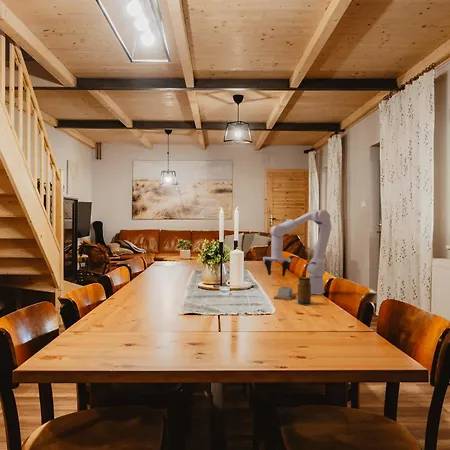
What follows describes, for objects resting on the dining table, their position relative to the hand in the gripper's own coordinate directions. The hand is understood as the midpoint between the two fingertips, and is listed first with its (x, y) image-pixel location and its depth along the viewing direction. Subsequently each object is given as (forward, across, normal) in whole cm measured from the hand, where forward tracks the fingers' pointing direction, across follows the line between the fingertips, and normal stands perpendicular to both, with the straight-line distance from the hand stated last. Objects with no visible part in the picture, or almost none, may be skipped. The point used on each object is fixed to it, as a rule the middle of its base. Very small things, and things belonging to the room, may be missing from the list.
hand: (276, 275), depth 233 cm
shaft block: (+10, +7, -7) cm, 14 cm away
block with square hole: (+9, +7, -7) cm, 13 cm away
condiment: (+10, +20, -16) cm, 27 cm away
